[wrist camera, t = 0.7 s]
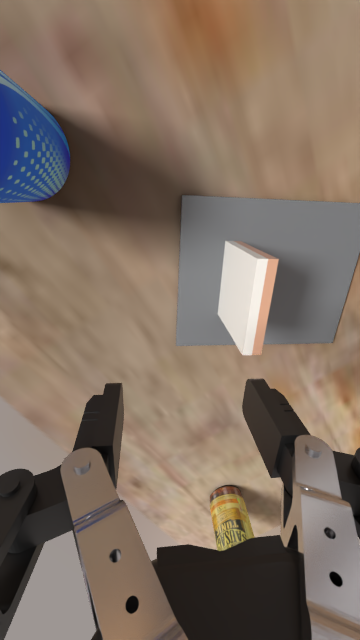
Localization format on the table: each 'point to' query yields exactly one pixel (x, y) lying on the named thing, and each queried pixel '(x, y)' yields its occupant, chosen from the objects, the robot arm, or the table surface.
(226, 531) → the sauce bottle
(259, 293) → the tile
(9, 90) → the beer can
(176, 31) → the table surface
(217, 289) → the mat
